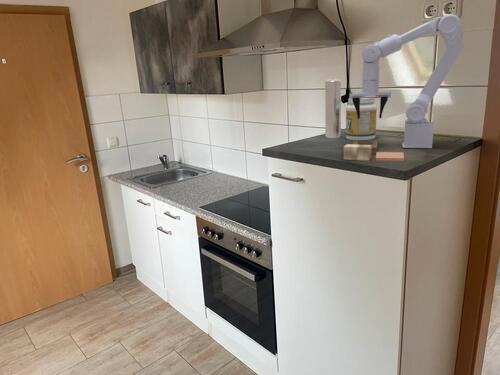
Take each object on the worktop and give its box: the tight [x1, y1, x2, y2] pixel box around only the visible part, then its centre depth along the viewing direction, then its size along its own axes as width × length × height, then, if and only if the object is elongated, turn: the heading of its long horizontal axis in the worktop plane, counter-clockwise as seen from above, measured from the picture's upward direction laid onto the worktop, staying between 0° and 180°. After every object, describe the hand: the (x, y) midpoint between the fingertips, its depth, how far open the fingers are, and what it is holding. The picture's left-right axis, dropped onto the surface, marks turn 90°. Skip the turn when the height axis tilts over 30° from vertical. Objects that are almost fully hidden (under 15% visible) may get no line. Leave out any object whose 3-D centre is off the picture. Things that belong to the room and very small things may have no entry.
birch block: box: [343, 143, 372, 161], centre depth 126 cm, size 4×4×8 cm
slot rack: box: [352, 140, 379, 156], centre depth 138 cm, size 8×14×2 cm, turn 161°
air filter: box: [324, 78, 342, 139], centre depth 166 cm, size 6×6×25 cm
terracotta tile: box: [375, 151, 405, 162], centre depth 125 cm, size 8×9×1 cm
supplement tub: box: [345, 97, 378, 142], centre depth 160 cm, size 12×12×17 cm
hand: (369, 118), depth 144 cm, fingers open, 7 cm apart
